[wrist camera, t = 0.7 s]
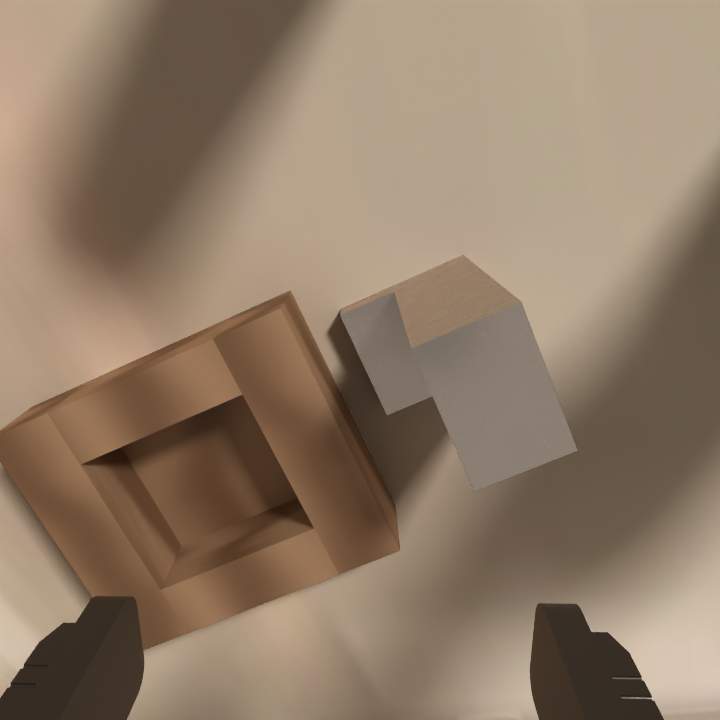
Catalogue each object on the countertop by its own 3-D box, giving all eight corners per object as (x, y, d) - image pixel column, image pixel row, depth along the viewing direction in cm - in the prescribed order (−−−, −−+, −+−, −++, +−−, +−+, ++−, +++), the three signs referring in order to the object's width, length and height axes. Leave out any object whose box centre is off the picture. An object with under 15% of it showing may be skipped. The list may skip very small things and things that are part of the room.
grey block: (463, 254, 32) (521, 301, 21) (503, 356, 34) (577, 450, 23) (340, 309, 33) (331, 382, 22) (385, 405, 35) (399, 521, 23)
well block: (290, 290, 33) (280, 308, 29) (395, 505, 37) (400, 550, 32) (32, 407, 35) (-14, 440, 30) (156, 600, 38) (131, 654, 34)
